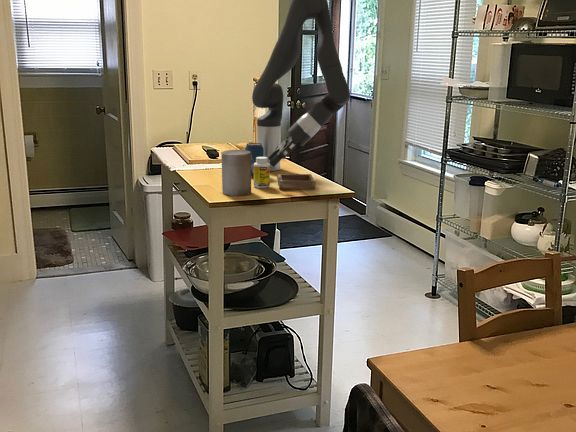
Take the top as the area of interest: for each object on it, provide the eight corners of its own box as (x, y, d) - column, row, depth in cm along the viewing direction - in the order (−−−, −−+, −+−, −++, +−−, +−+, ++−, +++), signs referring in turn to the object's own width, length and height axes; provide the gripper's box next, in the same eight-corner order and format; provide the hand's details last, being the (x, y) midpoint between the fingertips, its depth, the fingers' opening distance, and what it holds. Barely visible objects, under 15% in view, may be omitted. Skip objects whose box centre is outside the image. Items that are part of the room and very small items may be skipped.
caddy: (277, 182, 225) (277, 174, 225) (310, 182, 226) (311, 174, 225) (279, 189, 214) (280, 181, 213) (315, 189, 215) (315, 181, 214)
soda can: (261, 173, 240) (261, 142, 237) (265, 177, 234) (265, 145, 231) (243, 174, 239) (243, 142, 236) (246, 178, 232) (246, 145, 229)
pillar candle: (251, 189, 213) (251, 145, 210) (251, 196, 204) (250, 150, 200) (223, 189, 213) (221, 145, 209) (221, 196, 204) (219, 150, 200)
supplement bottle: (258, 189, 214) (258, 159, 212) (250, 186, 219) (250, 157, 216) (272, 187, 217) (273, 158, 215) (264, 184, 222) (264, 155, 219)
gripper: (294, 118, 220) (261, 151, 222) (298, 123, 206) (263, 158, 208) (309, 134, 222) (276, 166, 224) (314, 139, 208) (279, 174, 210)
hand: (270, 162), depth 216 cm, fingers open, 8 cm apart
